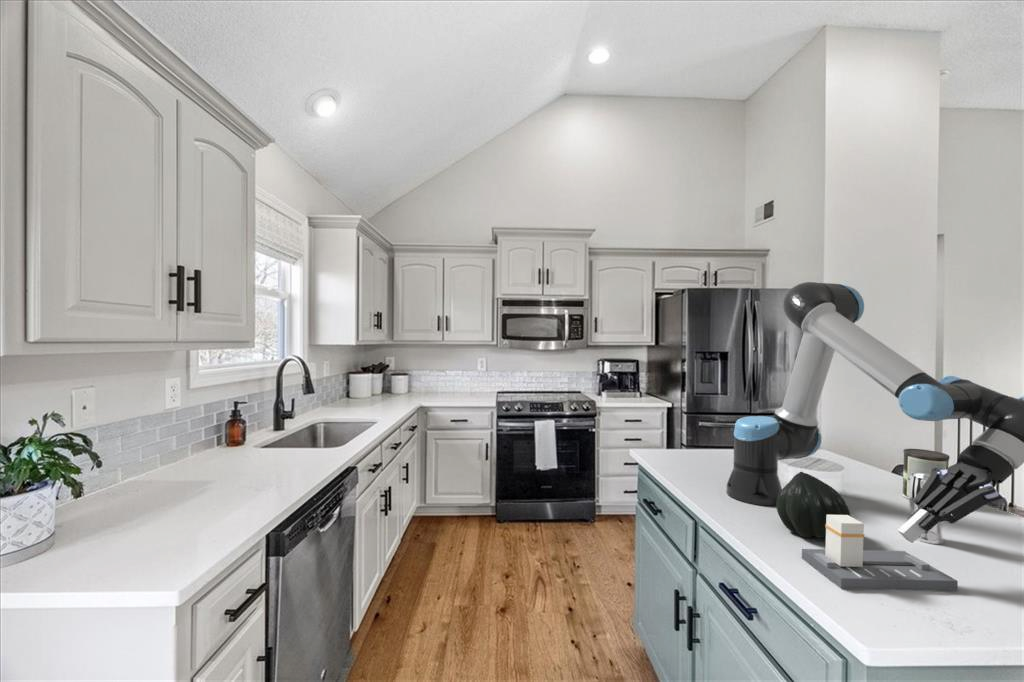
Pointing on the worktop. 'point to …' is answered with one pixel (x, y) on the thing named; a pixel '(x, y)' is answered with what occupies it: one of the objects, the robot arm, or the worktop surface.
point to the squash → (808, 505)
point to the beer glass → (914, 487)
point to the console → (882, 572)
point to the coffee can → (921, 464)
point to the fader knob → (844, 540)
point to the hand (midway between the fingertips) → (904, 536)
